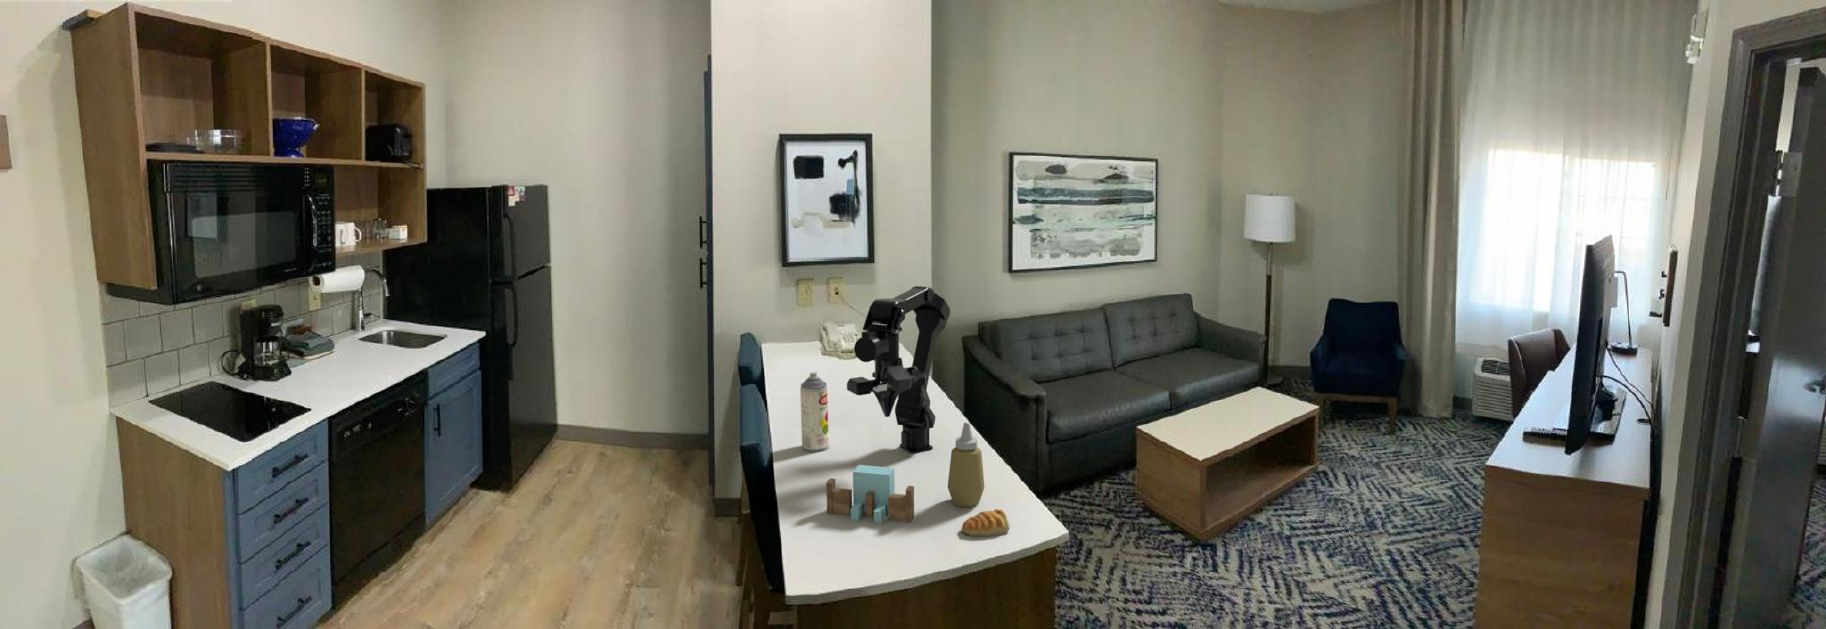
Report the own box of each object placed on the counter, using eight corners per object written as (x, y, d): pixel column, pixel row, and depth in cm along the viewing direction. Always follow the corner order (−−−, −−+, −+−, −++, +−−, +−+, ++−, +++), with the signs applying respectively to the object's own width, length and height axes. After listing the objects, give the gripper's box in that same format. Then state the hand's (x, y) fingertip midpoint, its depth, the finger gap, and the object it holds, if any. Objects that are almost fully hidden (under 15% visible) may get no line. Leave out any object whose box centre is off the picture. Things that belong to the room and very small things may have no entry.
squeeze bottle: (988, 497, 182) (989, 419, 178) (979, 512, 174) (980, 431, 171) (953, 492, 184) (953, 415, 181) (942, 506, 177) (943, 427, 173)
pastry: (971, 542, 161) (971, 524, 161) (955, 528, 167) (955, 510, 167) (1012, 533, 165) (1012, 515, 164) (995, 519, 171) (995, 502, 170)
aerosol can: (824, 452, 208) (822, 376, 204) (798, 451, 210) (796, 375, 206) (831, 443, 215) (829, 369, 211) (806, 441, 216) (804, 368, 212)
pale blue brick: (859, 503, 178) (858, 464, 177) (894, 507, 177) (894, 467, 175) (847, 519, 171) (846, 478, 169) (884, 523, 169) (884, 482, 167)
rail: (830, 508, 176) (830, 477, 175) (914, 517, 172) (914, 486, 170) (827, 513, 174) (826, 482, 172) (911, 522, 169) (911, 490, 168)
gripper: (868, 365, 181) (868, 432, 184) (938, 355, 191) (938, 419, 194) (845, 355, 191) (846, 419, 194) (913, 345, 200) (913, 407, 203)
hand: (887, 416), depth 196 cm, fingers closed
